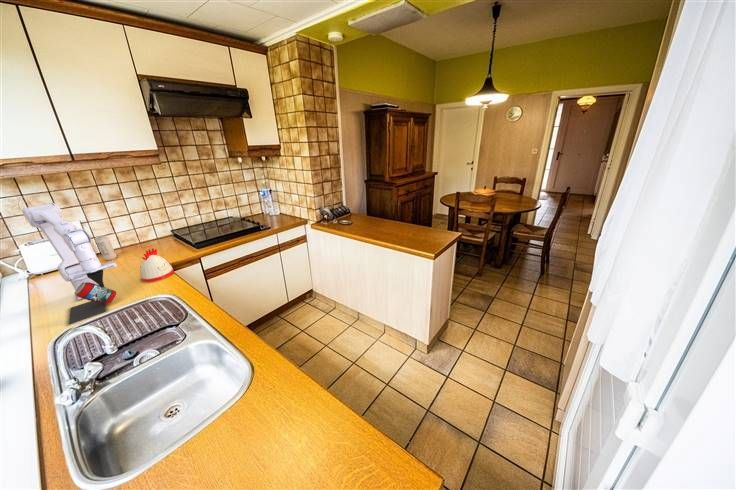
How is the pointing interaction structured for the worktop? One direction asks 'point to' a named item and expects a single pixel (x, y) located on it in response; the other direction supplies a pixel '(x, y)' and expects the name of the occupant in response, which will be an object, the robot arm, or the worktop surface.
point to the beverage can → (95, 293)
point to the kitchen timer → (154, 267)
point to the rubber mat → (85, 311)
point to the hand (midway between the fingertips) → (102, 286)
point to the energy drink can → (105, 248)
